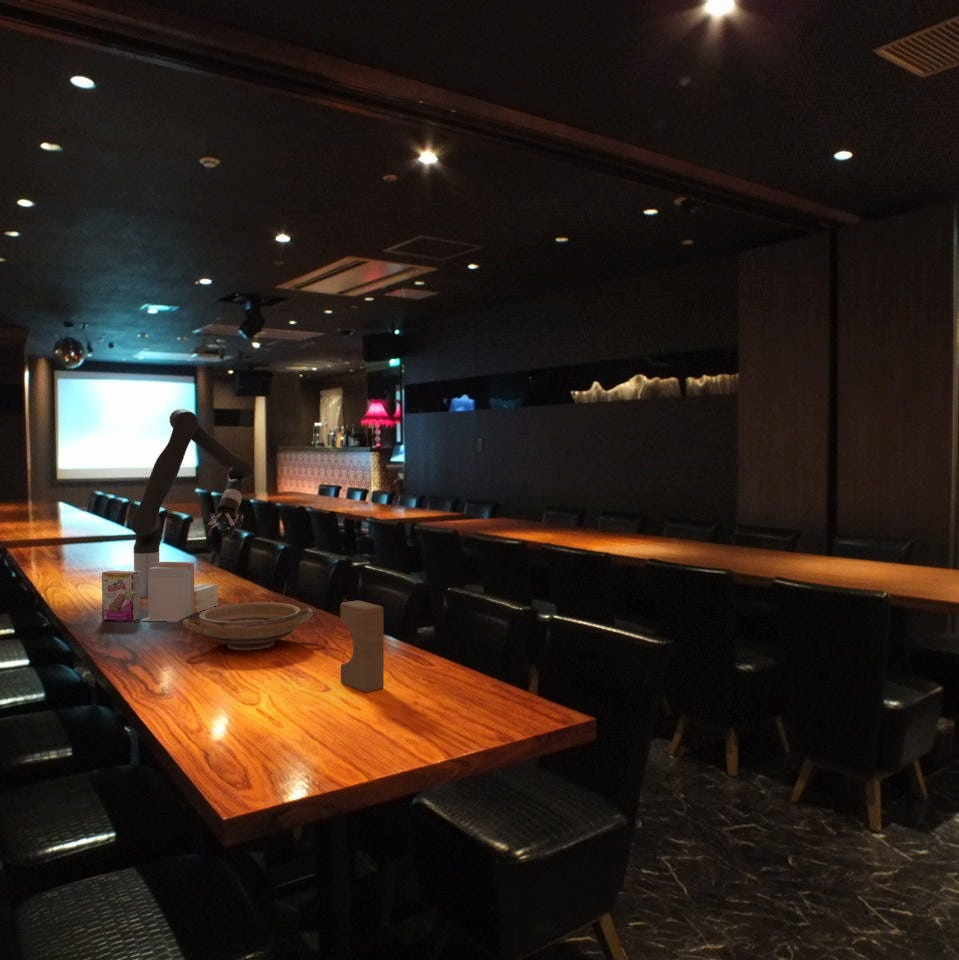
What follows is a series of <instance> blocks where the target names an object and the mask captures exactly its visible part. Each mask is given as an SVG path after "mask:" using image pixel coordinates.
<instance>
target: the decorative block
mask: <svg viewBox="0 0 959 960" xmlns="http://www.w3.org/2000/svg"><path fill="white" fill-rule="evenodd" d="M339 607H340V608H339V609H340V611H339V612H340V623H342V624H343V625H344V626H346V628H347V629H348V631H349V633H350V636H351V639H352V646H353V649H352V650H353V651H352V656H351V658H350V660H349V661H347V662H344V663H341V664H340V683H341V684H343V685H345V686H348V687H349V688H353V689H356V690H358V691H360V692H363V693H365V694H367V693H371V692H374V691H379V690H383V689H384V687H385V685H384V679H385V678H384V673H385V672H384V666H385V665H384V661H385V660H384V658H385V657H384V607H383V606H381V605H379V604H374V603H369V602H366V601H362V600H352V601H345V602H341V603H340V606H339Z"/></svg>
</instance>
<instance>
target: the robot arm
mask: <svg viewBox="0 0 959 960" xmlns="http://www.w3.org/2000/svg"><path fill="white" fill-rule="evenodd" d="M169 424H170V426H171V427H172V431H171V434H170V437H169V440H168V442H167V445H165V447H164V449H163V450H162V451H161V453H159V455H158V457H157V458H156V461H155V462H154V464H153V468H152V469H151V472H150V475H149V478H148V481H147V484H146V486H145V490H144V493H143V496H142V498H141V501H140V503H139V505H138V507H137V509H136V511H135V512H134V515H133V516H132V519H131V521H130V526H131V529H132V531H133V533H135V542H134V544H133V571H140V599H145V598H147V599H148V577H149V568H152V567H157V563H158V562H160V547H161V541H162V539H161V538H162V534H161V533H162V531H161V530H162V524H161V518H160V516H159V513H160V510H161V507H162V504H163V502H164V501H165V499H166V497H167V496H168V495H169V493H170V492H171V490H172V488H173V487H174V485H175V482H176V480H177V477H178V474H179V472H180V470H181V466H182V464H183V460H184V457H185V455H186V452H187V449H188V447H189V444H190V443H191V441H192V442H194V444H196V446H198V447H199V448H200V449H202V450H203V452H205V454H206V455H207V456H208V457H210V458H211V459H212V460H214V461H215V463H216V464H218V465H219V466H220V467H221V468H224V469H228V471H227V475H226V476H227V477H226V486H225V489H224V492H223V493H222V495H221V498H220V500H219V504H218V505H217V509H216V510H217V511H216V512H215V513H212V512H211V511H208V512H207V514H206V516H205V518H204V521H203V524H204V527H205V528H206V529H205V533H206V535H207V537H210V536H211V533H212V530H213V529H214V527H217V526H219V525H228V524H230V526H229V529H228V532H227V534H228V537H229V538H230V537H232V536H233V535H234V534H235V530H236V529H241V528H242V525H243V522H244V515H243V512H239V513H238V511H239V508H240V506H241V502H242V498H243V494H244V493H245V484H244V481H246V480H248V479H251V478H252V477H253V476H254V473H255V470H254V467H253V466H252V464H251V463H250V462H248V461H247V460H246V459H244V458H242V457H240V456H239V455H236V454H234V453H233V451H231V450H229V448H227V447H226V446H225V444H223V443H222V442H220V441H219V440H218V439H216V438H215V437H214V436H212V435H211V434H210V433H208V432H207V431H206V429H204V428H203V427H202V426H201V425H200V424H199V420H198V417H197V415H196V414H195V413H194V412H192V411H190V410H188V409H185V408H177V409H175V410H173V411H172V412H171V414H170V415H169ZM229 468H230V469H229ZM235 519H237V521H236V523H235V522H234V521H235Z"/></svg>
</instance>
